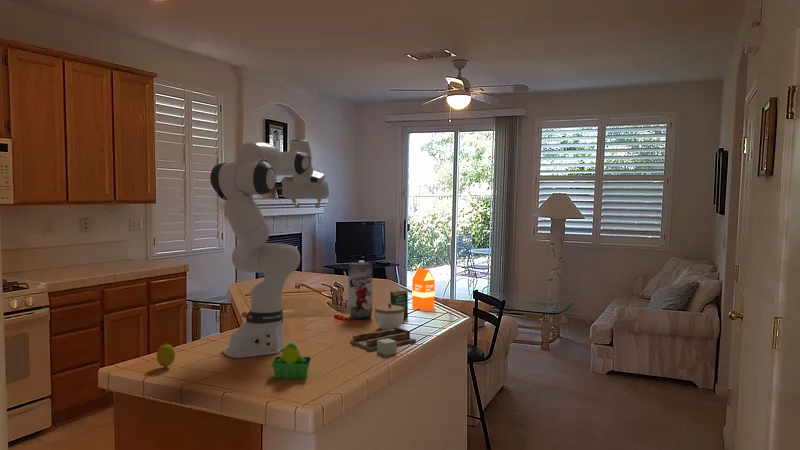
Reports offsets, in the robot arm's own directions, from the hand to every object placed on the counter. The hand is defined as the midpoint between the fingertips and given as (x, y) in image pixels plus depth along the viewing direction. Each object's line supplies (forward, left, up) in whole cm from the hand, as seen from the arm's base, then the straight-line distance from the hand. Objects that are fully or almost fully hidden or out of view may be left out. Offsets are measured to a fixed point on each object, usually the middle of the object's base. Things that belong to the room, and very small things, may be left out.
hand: (307, 207), depth 236 cm
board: (+10, -43, -52) cm, 68 cm away
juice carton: (+28, 0, -52) cm, 59 cm away
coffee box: (+41, -13, -52) cm, 67 cm away
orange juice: (+68, +2, -52) cm, 85 cm away
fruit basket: (-36, -59, -52) cm, 86 cm away
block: (+3, -55, -52) cm, 75 cm away
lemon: (-65, -27, -52) cm, 88 cm away
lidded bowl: (+26, -26, -52) cm, 63 cm away
